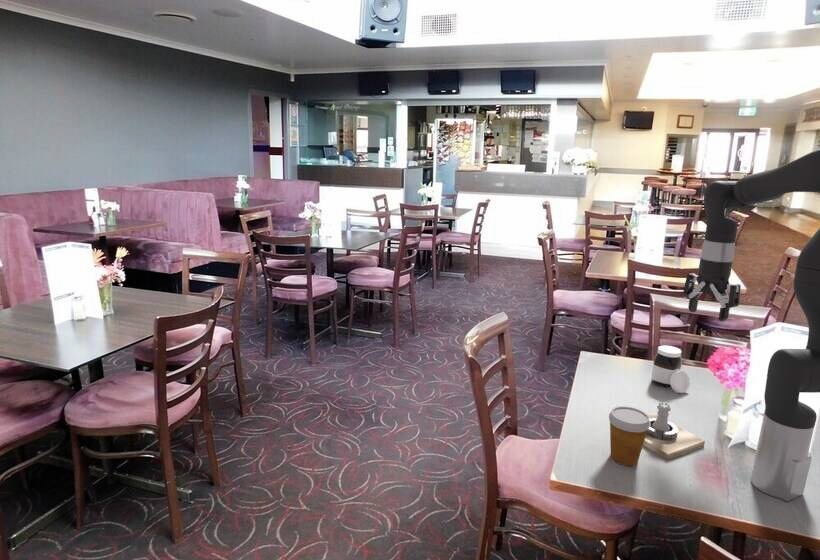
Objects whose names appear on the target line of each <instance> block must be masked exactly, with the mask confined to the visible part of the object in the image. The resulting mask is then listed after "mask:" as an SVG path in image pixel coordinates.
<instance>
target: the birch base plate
mask: <svg viewBox="0 0 820 560" xmlns="http://www.w3.org/2000/svg"><path fill="white" fill-rule="evenodd" d="M647 415H648V416H649V418H657V416H658V414H655V413H653V412H651V413H649V414H647ZM676 427H677V428H678V434H677V438H676V439H674V440H671V441H664V440H659V439H655V438H652V437H650V436H649V435H647V434H646V437H645V440H644V443H643V446H644V447H646V448H648V449H649V450H651V451H652V452H654V453H655V454H658V455H659V456H661V458H663V459H666V460H667V461H668V460H670V459H672V458H675V457H678V456H681V455H683V454H686V453H689V452H691V451H694V450H697V449H699V448H703V447H705V444H706V443H705V440H704V439H702V438H700V437H698V436H696V435H695V434H693V433H691V432H689V431H687V430H685V429H683V428H681V427H680V426H678V425H676ZM651 428H652V427H651ZM669 432H670V431H669Z"/></svg>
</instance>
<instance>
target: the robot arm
mask: <svg viewBox="0 0 820 560" xmlns="http://www.w3.org/2000/svg"><path fill="white" fill-rule="evenodd" d="M789 193H815V194H816V193H817V194H820V148H818V149H815V150H813V151H811V152H808V153H807V154H804V155H803V156H800V157H798V158H797V159H794V160H792V161H791V162H787V163H785V164H783V165H780V166H778V167H775V168H772V169H768V170H764V171H759V172H756V173H752V174H749V175H745V176H743V177H741V178H739V179H738V180H714V181H712V182H710V183H709V184H707V187H705V191H704V193H703V204H704V210H705V211H704V213H705V220H706V227H705V228H706V229H705V233H704V240H703V244H702V246H701V252H700V258H699V265H698V275H697V273H694V272H693V273H688V274H686V278H685V282H684V287H683V292H682V293H683V295H687V296H688V298H689V301H688V307H687V308H688V309H689V311H688V312H689V313H690V312H691V313H695V312H697V310H698V305H699V304H698V303H699V297H700V296H701V295H702V294H704V295H709V296H711V297H715V300H716V301H718V303H719V304H720V306H721V307H720V308H719V312H718V313H719V315H718V322H719V321H720V322H725V321H726V320H728V319H729V315H730V310H731V308H736V307H738V306H740V305H739V304H740V297H741V284H739V283H737V284H736V283H735V284H733V283H730V282H729V281H730V280H729V279H730V277H731V274H732V267H733V262H734V256H735V251H736V248H735V245H736V238H737V233H738V221H737V220H736V219H734V218H730V217H726V216H725V211H724V210H725V209H728V210H731V209H732V210H735V209H736V210H738V209H745V208H748V207H750V206H752V205H756V204H760V203H765V202H771V201H774V200H777V199H779V198H781V197H782V196H785V194H789ZM695 283H697V286H695V285H696V284H695ZM727 290H728V292H729V294H728V292H727ZM793 292H794V294H795V298H796V299H797V302H798V304H799V306H800V308H801V310H802V311H803V314H804V317H805V318H806V320H807V325H808V337H807V342H806V343H807V344H806V346H805V348H781V349H778V350H776V351H775V352H774V353H773V354H772V356H771V357H770V359H769V362H768V365H767V366H768V367H767V373H766V379H765V380H766V382H765V388H764V395H763V396H764V406H765V407H764V412H763V417H762V421H761V426H760V431H759V436H758V442H757V445H756V446H757V447H756V451H755V456H754V462H753V465H752V466H753V467H752V469H751V475H750V481H751V484H752V485H753V486H754V487H755V488H756V489H758V490H759V491H761V492H763V493H765V494H766V495H770V496H771V497H774V498H775V497H776V498H778V499H782V500H784V501H786V502H790V501H792V500H794V499H795V498H798V497H800V496H802V495H804V492H805V488H806V487H805V486H806V483H807V478H808V475H809V470H810V466H811V462H812V456H811V455H809V452H810V448H811V442H812V438H813V434H814V431H815V426H816V422H817V417H818V416H817V413H816V411H815V409H814V408H812V407H810V406H809V405H807V404H805V403H804V402H801V401H800V400H799V398H800V393H805V394H806V393H810V394H811V393H820V227H819V228H818V229H817V231H816V232H815V233H814V234H813V235H812V236H811V238H810V239H809V240H808V242H807V243H806V244H805V246H804V247H803V249H801V251H800V253H799V255H798V258H797V261H796V267H795V273H794V277H793Z"/></svg>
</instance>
